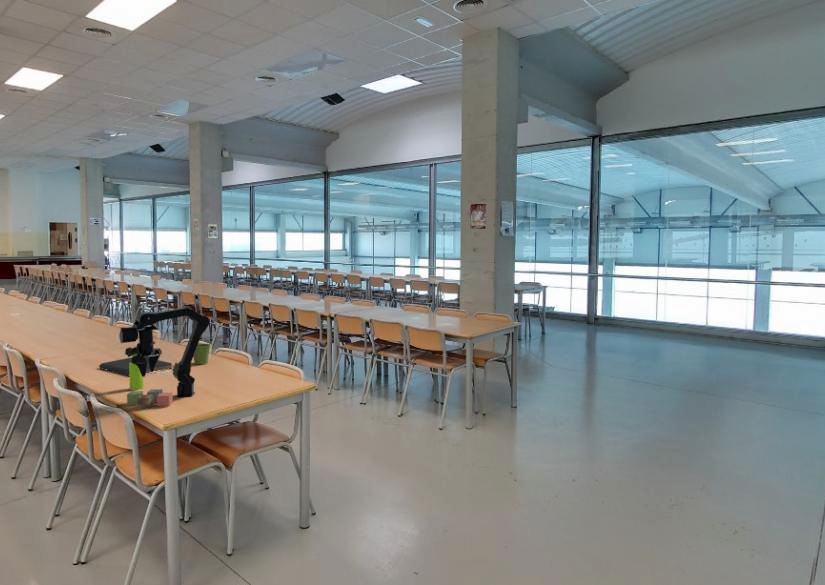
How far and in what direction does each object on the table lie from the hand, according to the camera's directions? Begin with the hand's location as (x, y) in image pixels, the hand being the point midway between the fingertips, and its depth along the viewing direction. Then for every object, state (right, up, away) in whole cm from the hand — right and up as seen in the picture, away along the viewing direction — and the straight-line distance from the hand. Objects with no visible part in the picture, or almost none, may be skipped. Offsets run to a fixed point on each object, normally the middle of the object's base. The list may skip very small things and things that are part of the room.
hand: (147, 374), depth 245 cm
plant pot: (-7, -6, +79) cm, 79 cm away
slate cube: (+3, -13, +2) cm, 13 cm away
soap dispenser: (-17, -11, +22) cm, 30 cm away
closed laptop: (-38, -7, +64) cm, 75 cm away
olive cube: (-5, -13, -2) cm, 14 cm away
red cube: (+10, -13, -4) cm, 17 cm away
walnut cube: (+2, -14, -7) cm, 16 cm away
